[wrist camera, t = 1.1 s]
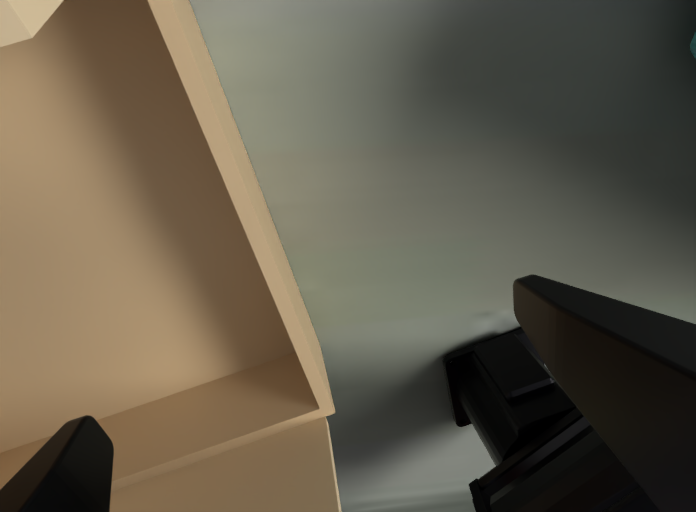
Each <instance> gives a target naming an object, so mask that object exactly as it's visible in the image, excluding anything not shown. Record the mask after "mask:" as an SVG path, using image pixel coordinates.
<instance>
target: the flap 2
mask: <svg viewBox="0 0 696 512" xmlns="http://www.w3.org/2000/svg"><path fill="white" fill-rule="evenodd" d="M110 512H341V505H340V498H339V492H338V485H337V478H336V471H335V464H334V458H333V451H332V444H331V437H330V430H329V425H328V422H327V419H326V417H323V418H320V419H317V420H314V421H312V422H309V423H306V424H303V425H300V426H297V427H294V428H292V429H289V430H286V431H283V432H280V433H277V434H274V435H272V436H269V437H266V438H263V439H260V440H257V441H254V442H252V443H249V444H246V445H243V446H240V447H237V448H235V449H232V450H229V451H226V452H223V453H220V454H217V455H215V456H212V457H209V458H206V459H203V460H200V461H197V462H195V463H192V464H189V465H186V466H183V467H180V468H178V469H175V470H172V471H169V472H166V473H163V474H160V475H158V476H155V477H152V478H149V479H146V480H143V481H140V482H138V483H135V484H132V485H129V486H126V487H123V488H120V489H118V490H115V491H112V492H111V499H110Z"/></svg>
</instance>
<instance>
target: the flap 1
mask: <svg viewBox="0 0 696 512" xmlns="http://www.w3.org/2000/svg"><path fill="white" fill-rule="evenodd" d="M63 1H64V0H0V47H3V46H6V45H10V44H13V43H16V42H20V41H23V40H27V39H30V38H33V37H34V35H35V34H36V33H37V32H38V31H39V29H40V28H41V27H42V26H43V25H44V23H45V22H46V21H47V20H48V19H49V17H50V16H51V15H52V14H53V13H54V11H55V10H56V9H57V8H58V7H59V5H60V4H61V3H62V2H63Z"/></svg>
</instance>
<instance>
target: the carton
mask: <svg viewBox="0 0 696 512" xmlns="http://www.w3.org/2000/svg"><path fill="white" fill-rule="evenodd" d="M334 413H336V412H335V408H334V404H333V399H332V395H331V391H330V386H329V382H328V378H327V373H326V369H325V365H324V360H323V356H322V352H321V347H320V344H319V341H318V339H317V336H316V333H315V331H314V328H313V326H312V323H311V320H310V318H309V315H308V312H307V310H306V307H305V305H304V302H303V299H302V297H301V294H300V291H299V289H298V286H297V283H296V281H295V278H294V276H293V273H292V270H291V268H290V265H289V262H288V260H287V257H286V255H285V252H284V249H283V247H282V244H281V241H280V239H279V236H278V234H277V231H276V228H275V226H274V223H273V220H272V218H271V215H270V212H269V210H268V207H267V205H266V202H265V199H264V197H263V194H262V191H261V189H260V186H259V184H258V181H257V178H256V176H255V173H254V170H253V168H252V165H251V163H250V160H249V157H248V155H247V152H246V149H245V147H244V144H243V141H242V139H241V136H240V134H239V131H238V128H237V126H236V123H235V120H234V118H233V115H232V113H231V110H230V107H229V105H228V102H227V99H226V97H225V94H224V92H223V89H222V86H221V84H220V81H219V78H218V76H217V73H216V70H215V68H214V65H213V63H212V60H211V57H210V55H209V52H208V49H207V47H206V44H205V42H204V39H203V36H202V34H201V31H200V28H199V26H198V23H197V21H196V18H195V15H194V13H193V10H192V7H191V5H190V2H189V0H64V1H63V2H62V3H61V4H60V5H59V7H58V8H57V9H56V10H55V11H54V13H53V14H52V15H51V16H50V17H49V19H48V20H47V21H46V22H45V23H44V25H43V26H42V27H41V28H40V29H39V31H38V32H37V33H36V34H35V35H34V37H33V38H30V39H27V40H23V41H20V42H16V43H13V44H10V45H6V46H3V47H0V489H1V488H2V487H3V486H4V485H5V484H6V483H7V482H8V481H9V480H10V479H11V478H12V477H13V476H14V475H15V474H16V473H17V472H18V471H19V470H20V469H21V468H22V467H23V466H24V465H25V464H26V463H27V462H28V461H29V460H30V459H31V458H32V457H33V456H34V455H35V454H36V453H37V451H38V450H39V449H40V448H41V447H42V446H43V445H44V444H45V443H46V442H47V441H48V440H49V439H50V438H51V437H52V436H53V435H54V434H55V433H56V432H57V431H58V430H59V429H60V428H61V427H62V426H63V425H64V424H65V423H66V422H68V421H70V420H72V419H76V418H79V417H82V416H85V415H90V416H92V417H94V418H95V419H96V421H97V422H98V423H99V425H100V426H101V427H102V428H103V430H104V431H105V432H106V434H107V435H108V436H109V437H110V439H111V441H112V443H113V447H114V458H113V472H112V485H111V492H112V491H115V490H118V489H120V488H123V487H126V486H129V485H132V484H135V483H138V482H140V481H143V480H146V479H149V478H152V477H155V476H158V475H160V474H163V473H166V472H169V471H172V470H175V469H178V468H180V467H183V466H186V465H189V464H192V463H195V462H197V461H200V460H203V459H206V458H209V457H212V456H215V455H217V454H220V453H223V452H226V451H229V450H232V449H235V448H237V447H240V446H243V445H246V444H249V443H252V442H254V441H257V440H260V439H263V438H266V437H269V436H272V435H274V434H277V433H280V432H283V431H286V430H289V429H292V428H294V427H297V426H300V425H303V424H306V423H309V422H312V421H314V420H317V419H320V418H323V417H326V416H329V415H331V414H334Z"/></svg>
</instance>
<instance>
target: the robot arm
mask: <svg viewBox="0 0 696 512" xmlns="http://www.w3.org/2000/svg"><path fill="white" fill-rule="evenodd" d="M513 298H514V313H515V316H516V319H517V321H518V322H519V324H520V325H521V327H522V329H519V330H516V331H513V332H511V333H508V334H505V335H502V336H499V337H496V338H493V339H490V340H488V341H485V342H482V343H479V344H476V345H473V346H470V347H467V348H465V349H462V350H459V351H456V352H453V353H450V354H448V355H446V356H445V357H444V359H443V366H444V371H445V376H446V381H447V387H448V392H449V397H450V402H451V407H452V412H453V417H454V421H455V422H456V424H457V426H459V427H463V426H466V425H469V424H473V426H474V428H475V430H476V431H477V433H478V435H479V437H480V439H481V440H482V442H483V444H484V446H485V447H486V449H487V451H488V453H489V454H490V456H491V458H492V460H493V462H494V463H495V465H496V467H494V468H493V469H492V470H490V471H489V472H488V473H486V474H485V475H484V476H482V477H481V478H480V479H475V480H474V481H472V482H471V483H470V484H469V487H470V491H471V494H472V497H473V499H472V500H473V504H474V507H475V510H476V512H696V324H693V323H690V322H686V321H683V320H680V319H677V318H673V317H670V316H667V315H664V314H661V313H657V312H654V311H651V310H648V309H644V308H641V307H638V306H635V305H631V304H628V303H625V302H622V301H618V300H615V299H612V298H609V297H605V296H602V295H599V294H596V293H592V292H589V291H586V290H583V289H579V288H576V287H573V286H570V285H567V284H563V283H560V282H557V281H554V280H550V279H547V278H544V277H541V276H537V275H528V276H525V277H522V278H518V279H516V280H515V281H514V284H513ZM451 361H453V362H451ZM450 362H451V363H450ZM544 363H545V365H546V367H547V368H548V369H547V368H546V367H545V366H544ZM548 370H549V371H550V372H549V371H548ZM113 458H114V447H113V443H112V441H111V439H110V437H109V436H108V435H107V434H106V432H105V431H104V430H103V428H102V427H101V426H100V425H99V423H98V422H97V421H96V419H95V418H94V417H92V416H90V415H85V416H82V417H79V418H76V419H72V420H70V421H68V422H66V423H65V424H64V425H63V426H62V427H61V428H60V429H59V430H58V431H57V432H56V433H55V434H54V435H53V436H52V437H51V438H50V439H49V440H48V441H47V442H46V443H45V444H44V445H43V446H42V447H41V448H40V449H39V450H38V451H37V453H36V454H35V455H34V456H33V457H32V458H31V459H30V460H29V461H28V462H27V463H26V464H25V465H24V466H23V467H22V468H21V469H20V470H19V471H18V472H17V473H16V474H15V475H14V476H13V477H12V478H11V479H10V480H9V481H8V482H7V483H6V484H5V485H4V486H3V487H2V488H1V489H0V512H110V499H111V485H112V472H113Z"/></svg>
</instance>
